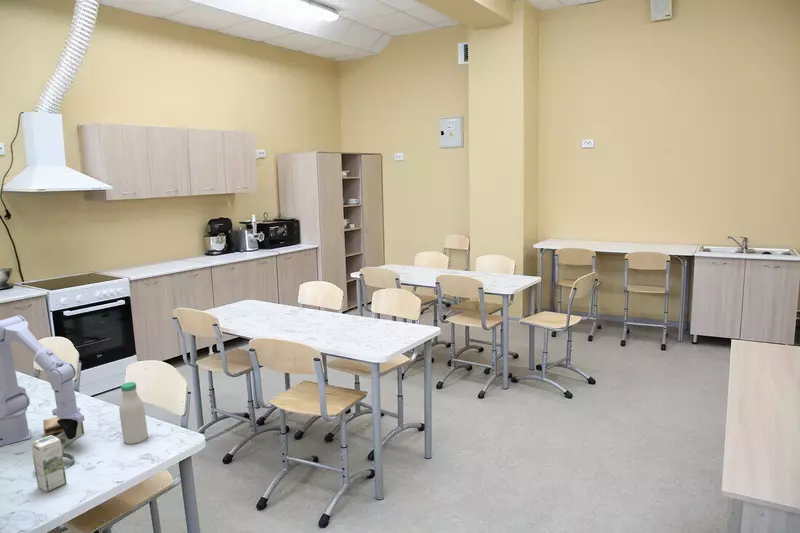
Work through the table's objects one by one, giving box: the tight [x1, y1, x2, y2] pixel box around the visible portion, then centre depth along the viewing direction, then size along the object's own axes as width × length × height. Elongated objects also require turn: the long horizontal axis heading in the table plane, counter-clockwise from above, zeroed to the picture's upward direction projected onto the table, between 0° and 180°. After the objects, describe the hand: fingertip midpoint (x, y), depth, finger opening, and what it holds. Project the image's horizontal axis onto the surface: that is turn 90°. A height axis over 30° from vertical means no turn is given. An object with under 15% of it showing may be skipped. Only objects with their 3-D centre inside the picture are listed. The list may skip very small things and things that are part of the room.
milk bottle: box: [119, 381, 148, 445], centre depth 197 cm, size 8×8×20 cm
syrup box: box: [30, 435, 67, 493], centre depth 171 cm, size 6×6×14 cm
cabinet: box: [43, 416, 85, 438], centre depth 206 cm, size 12×9×5 cm
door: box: [56, 423, 83, 448], centre depth 199 cm, size 10×2×5 cm, turn 171°
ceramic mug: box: [33, 444, 76, 467], centre depth 183 cm, size 11×8×8 cm
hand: (71, 437), depth 196 cm, fingers closed
